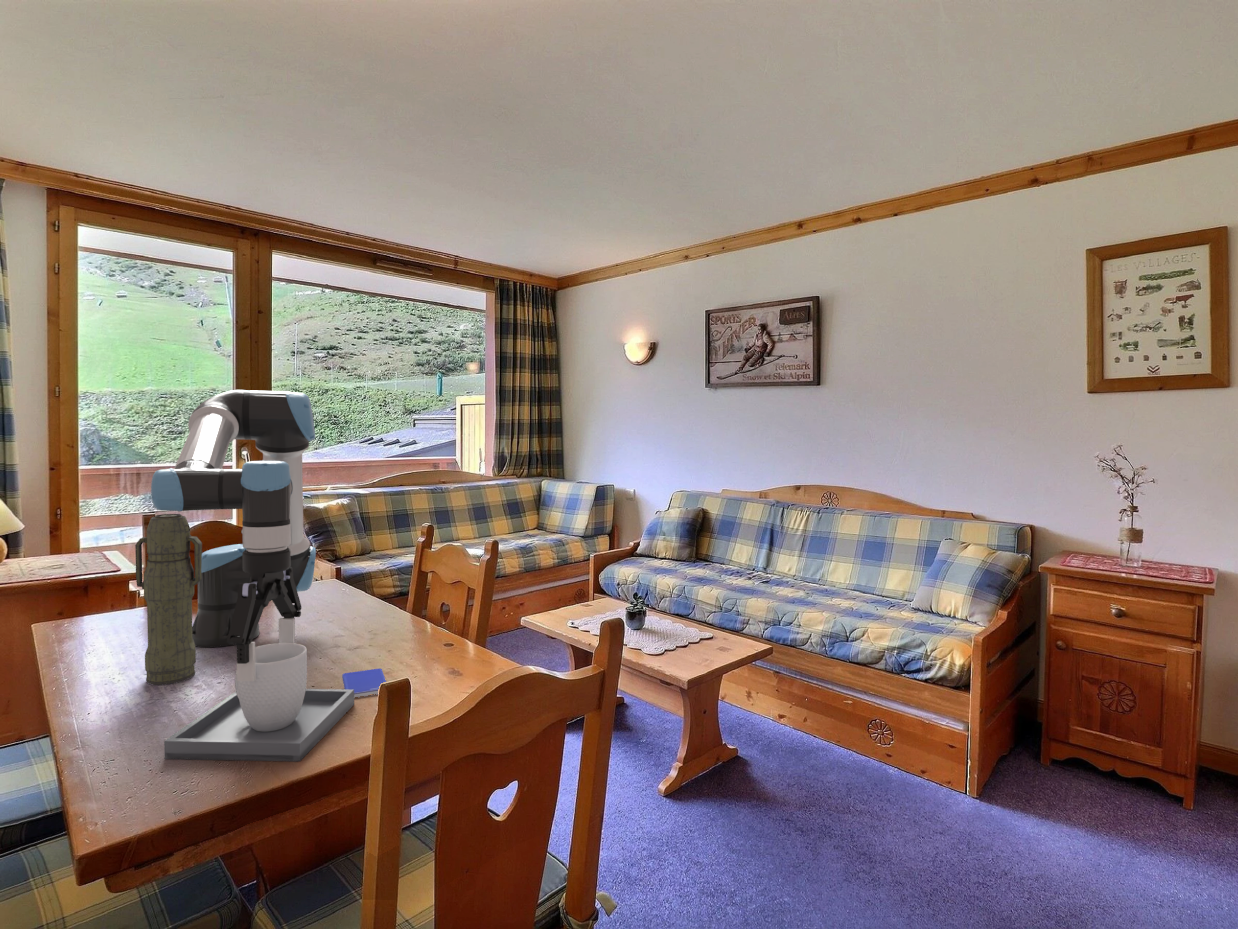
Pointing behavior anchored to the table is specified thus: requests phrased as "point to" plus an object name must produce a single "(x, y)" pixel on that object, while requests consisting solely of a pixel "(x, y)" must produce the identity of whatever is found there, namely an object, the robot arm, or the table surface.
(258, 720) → the mug
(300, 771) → the table surface
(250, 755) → the tray
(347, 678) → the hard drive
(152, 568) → the thermos
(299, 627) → the table surface
